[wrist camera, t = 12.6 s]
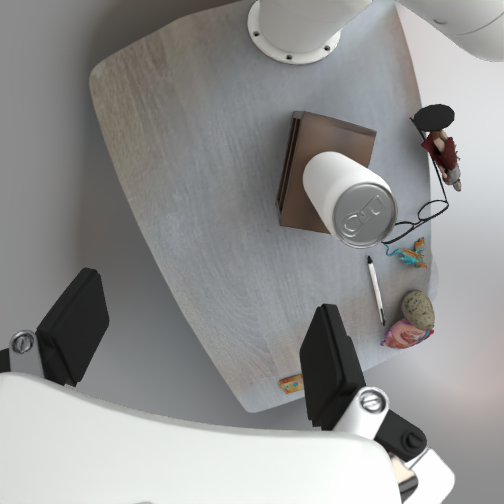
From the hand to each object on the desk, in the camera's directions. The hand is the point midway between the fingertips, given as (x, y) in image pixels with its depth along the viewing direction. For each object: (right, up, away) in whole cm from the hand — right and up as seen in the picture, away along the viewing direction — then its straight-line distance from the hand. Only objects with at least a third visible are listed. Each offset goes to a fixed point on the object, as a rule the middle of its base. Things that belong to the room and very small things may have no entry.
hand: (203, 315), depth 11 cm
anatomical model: (+29, -13, +39) cm, 51 cm away
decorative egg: (+34, -6, +38) cm, 51 cm away
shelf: (+11, +15, +26) cm, 32 cm away
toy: (+14, -27, +48) cm, 57 cm away
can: (+11, +11, +19) cm, 25 cm away
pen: (+26, -5, +37) cm, 46 cm away
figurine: (+26, +21, +16) cm, 37 cm away
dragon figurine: (+29, +3, +33) cm, 44 cm away
